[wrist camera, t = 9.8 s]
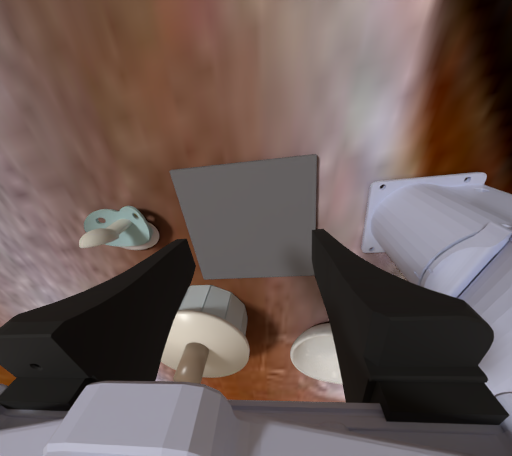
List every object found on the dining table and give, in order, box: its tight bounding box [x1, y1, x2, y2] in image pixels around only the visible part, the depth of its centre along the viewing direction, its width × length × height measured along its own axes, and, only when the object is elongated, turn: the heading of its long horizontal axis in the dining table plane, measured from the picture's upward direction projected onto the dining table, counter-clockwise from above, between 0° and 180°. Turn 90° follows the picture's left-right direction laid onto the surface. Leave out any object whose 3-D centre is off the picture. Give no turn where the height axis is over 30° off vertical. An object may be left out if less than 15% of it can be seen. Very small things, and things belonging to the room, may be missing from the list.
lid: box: [161, 310, 250, 384], centre depth 25 cm, size 13×13×4 cm
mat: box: [170, 154, 317, 279], centre depth 23 cm, size 14×14×1 cm
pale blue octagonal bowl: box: [179, 285, 248, 336], centre depth 29 cm, size 11×11×5 cm
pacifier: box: [79, 206, 159, 250], centre depth 22 cm, size 7×6×6 cm
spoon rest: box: [290, 323, 343, 384], centre depth 28 cm, size 24×12×7 cm, turn 101°
